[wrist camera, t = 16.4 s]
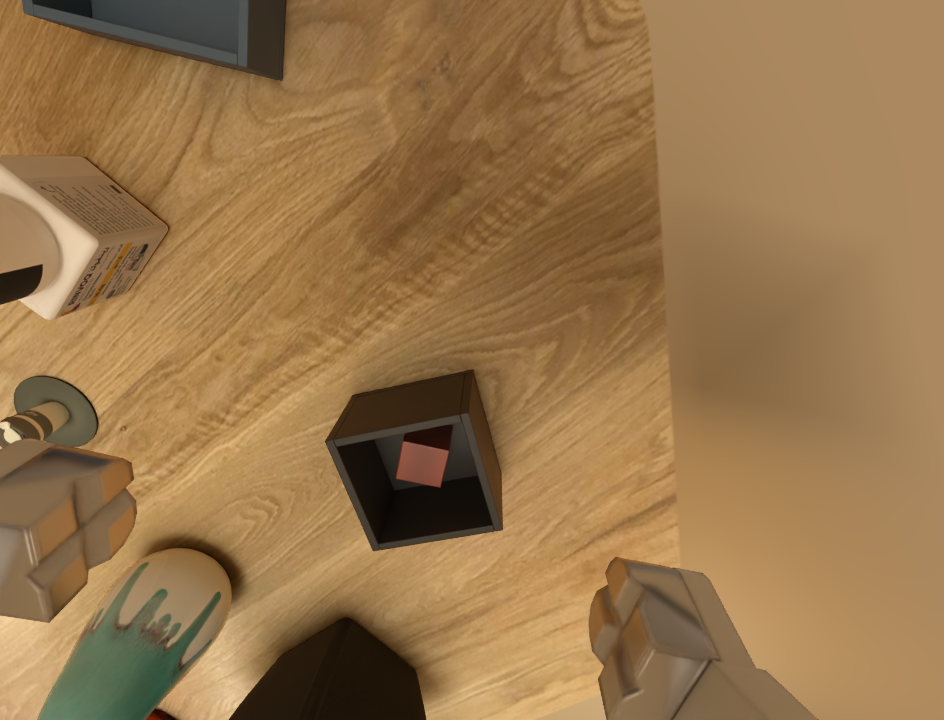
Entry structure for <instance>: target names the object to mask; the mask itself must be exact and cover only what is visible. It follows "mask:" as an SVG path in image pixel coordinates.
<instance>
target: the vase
mask: <svg viewBox="0 0 944 720" xmlns="http://www.w3.org/2000/svg"><path fill="white" fill-rule="evenodd" d="M231 602H232V589H231V583H230V580H229V577H228V575H227V573H226V571H225V570H224V568H223V567H222V566H221V565H220V564H219V563H218V562H217V561H216V560H215V559H213V558H212V557H210V556H208V555H207V554H205V553H202V552H200V551H196V550H192V549H187V548H172V549H166V550H162V551H159V552H156V553H153V554H151V555H148V556H146V557H144V558H143V559H141V560H139V561H137V562H136V563H135V564H133V565H132V566H131V567H129V568H128V569H127V570H126V571H125V572H124V573H123V574H121V575H120V577H119V578H118V579H117V580H116V581H115V582H114V583H113V585H112V586H111V587H110V589H109V590H108V591H107V593H106V594H105V595H104V597H103V598H102V600H101V601H100V603H99V604H98V606H97V608H96V609H95V611H94V612H93V614H92V615H91V617H90V618H89V620H88V622H87V624H86V625H85V627H84V629H83V631H82V633H81V635H80V636H79V638H78V640H77V642H76V644H75V646H74V648H73V650H72V652H71V654H70V656H69V659H68V660H67V662H66V664H65V666H64V668H63V670H62V671H61V673H60V675H59V677H58V679H57V680H56V682H55V684H54V686H53V687H52V689H51V691H50V693H49V695H48V697H47V699H46V701H45V703H44V705H43V707H42V709H41V712H40V714H39V717H38V720H146V718H147V717H148V716H149V715H150V714H151V713H152V711H153V710H154V709H155V708H156V707H157V706H158V705H159V703H160V702H161V701H162V700H163V699H164V698H165V697H166V696H167V695H168V694H169V693H170V692H171V691H172V690H173V689H174V688H175V686H176V685H177V684H178V683H179V682H180V681H181V680H182V679H183V678H184V677H185V676H186V675H187V674H188V673H189V672H190V670H191V669H192V668H193V667H194V666H195V665H196V664H197V663H198V662H199V660H200V659H201V658H202V657H203V656H204V654H205V653H206V652H207V650H208V649H209V648H210V647H211V645H212V644H213V643H214V641H215V640H216V638H217V637H218V635H219V634H220V632H221V630H222V629H223V627H224V625H225V623H226V620H227V618H228V615H229V612H230V608H231Z"/></svg>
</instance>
